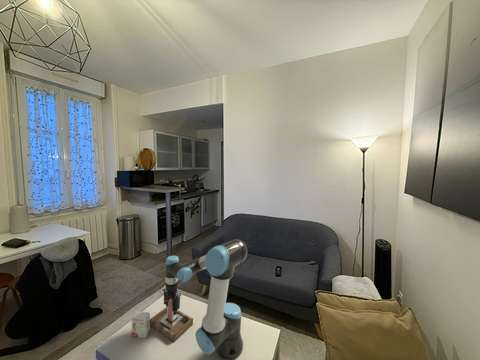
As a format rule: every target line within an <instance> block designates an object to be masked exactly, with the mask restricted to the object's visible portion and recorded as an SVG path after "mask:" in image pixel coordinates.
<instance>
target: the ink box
mask: <svg viewBox="0 0 480 360" xmlns="http://www.w3.org/2000/svg"><path fill="white" fill-rule="evenodd" d="M150 319H151V316H150V312H145V311H136V312H135V313H134V314H133V316H132V317H131V338H147V336H148V334H149V332H150V327H151V326H150Z"/></svg>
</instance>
